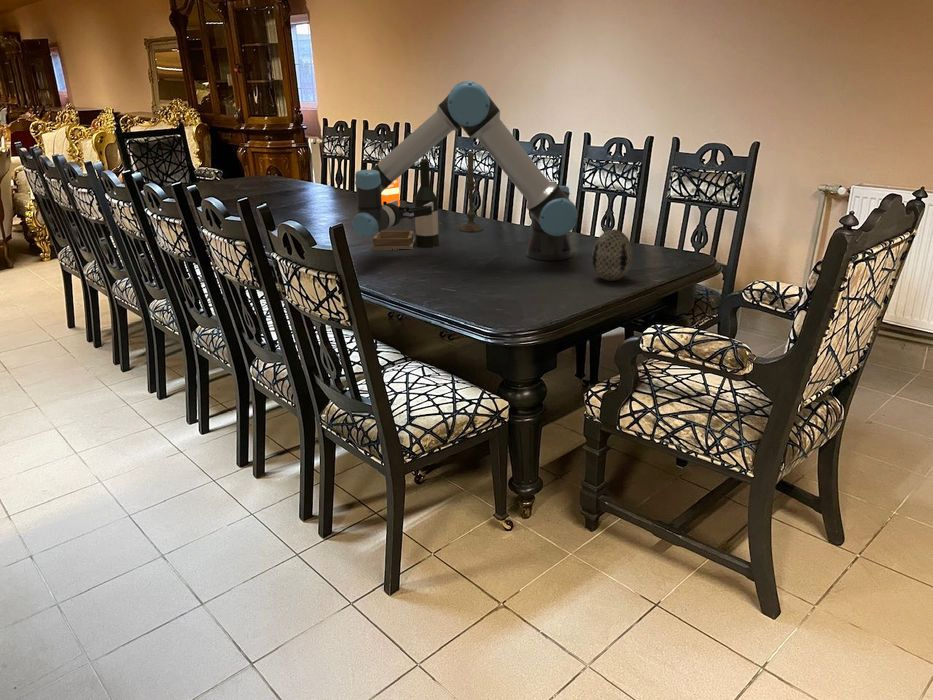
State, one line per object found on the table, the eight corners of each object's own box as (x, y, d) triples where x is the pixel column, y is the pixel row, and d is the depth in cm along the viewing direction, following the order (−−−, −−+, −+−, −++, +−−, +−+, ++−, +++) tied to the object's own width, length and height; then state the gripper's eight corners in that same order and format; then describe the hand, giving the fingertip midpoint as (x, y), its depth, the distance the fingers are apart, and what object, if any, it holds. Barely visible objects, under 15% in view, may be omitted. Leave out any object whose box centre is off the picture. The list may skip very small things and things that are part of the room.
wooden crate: (412, 249, 242) (411, 239, 241) (372, 250, 242) (371, 239, 241) (415, 240, 255) (414, 230, 254) (377, 240, 255) (376, 230, 254)
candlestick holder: (456, 231, 268) (454, 151, 257) (464, 226, 276) (463, 149, 264) (478, 233, 265) (477, 152, 253) (486, 228, 273) (486, 149, 261)
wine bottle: (435, 248, 244) (433, 160, 233) (413, 247, 246) (409, 160, 234) (441, 242, 251) (439, 157, 240) (419, 241, 253) (415, 157, 242)
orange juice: (388, 203, 325) (386, 160, 318) (400, 206, 319) (397, 161, 312) (375, 206, 321) (372, 161, 313) (386, 208, 315) (383, 163, 307)
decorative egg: (582, 277, 207) (585, 227, 202) (616, 272, 211) (619, 224, 206) (604, 287, 197) (607, 236, 192) (638, 283, 201) (642, 232, 196)
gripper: (352, 225, 228) (383, 213, 246) (421, 230, 219) (447, 217, 237) (351, 202, 225) (382, 192, 243) (420, 207, 216) (447, 195, 234)
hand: (414, 205), depth 240 cm, fingers open, 13 cm apart
